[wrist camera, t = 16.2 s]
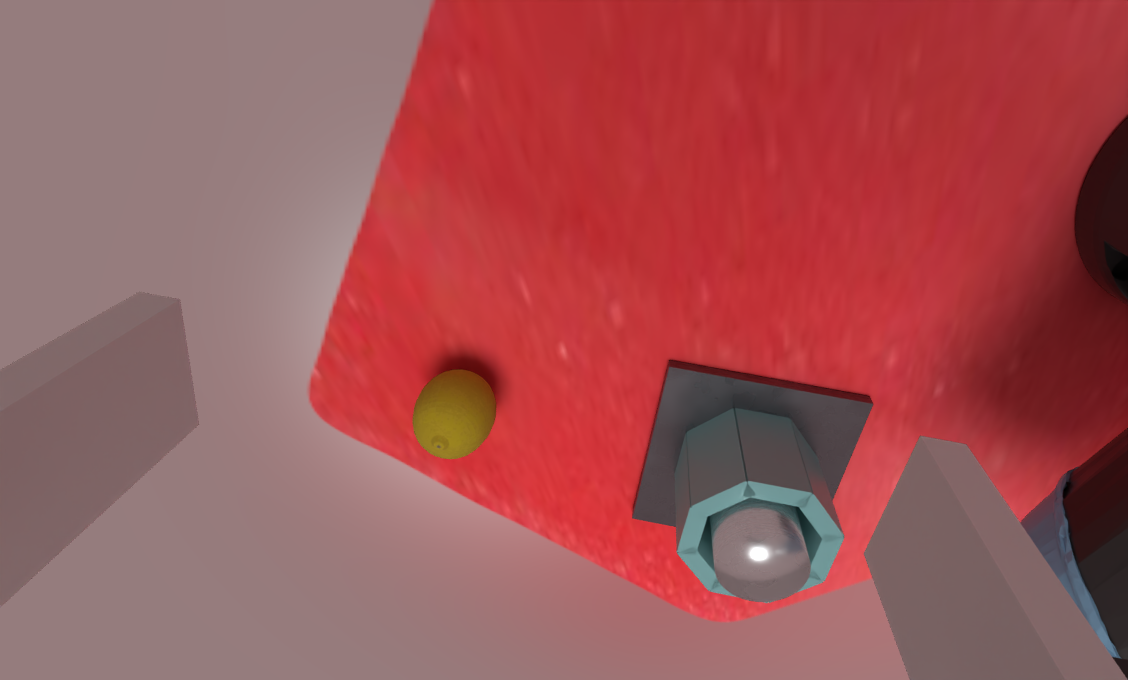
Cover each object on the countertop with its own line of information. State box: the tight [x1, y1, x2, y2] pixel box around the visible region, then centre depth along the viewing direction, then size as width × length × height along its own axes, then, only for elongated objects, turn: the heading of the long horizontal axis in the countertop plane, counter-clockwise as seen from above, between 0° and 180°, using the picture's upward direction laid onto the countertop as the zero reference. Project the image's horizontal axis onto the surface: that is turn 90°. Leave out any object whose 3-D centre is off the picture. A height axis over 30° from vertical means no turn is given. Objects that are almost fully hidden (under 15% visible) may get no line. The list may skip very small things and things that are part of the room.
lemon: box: [413, 369, 496, 459], centre depth 46 cm, size 6×6×8 cm
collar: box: [675, 408, 844, 603], centre depth 45 cm, size 10×10×8 cm
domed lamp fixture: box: [632, 360, 873, 602], centre depth 45 cm, size 14×14×11 cm
